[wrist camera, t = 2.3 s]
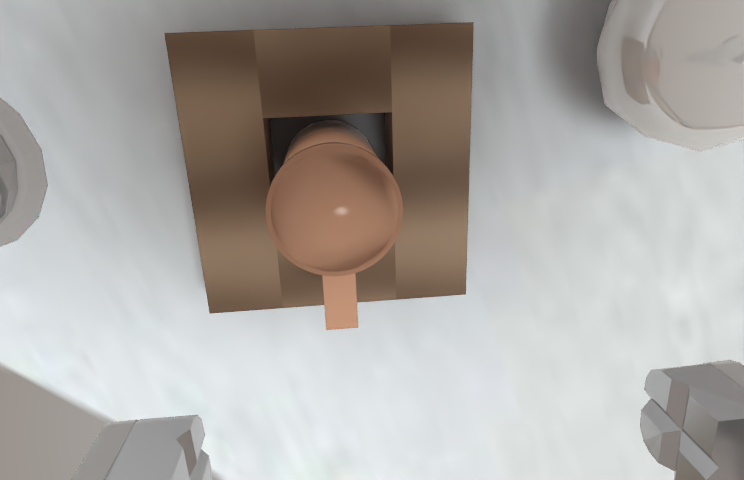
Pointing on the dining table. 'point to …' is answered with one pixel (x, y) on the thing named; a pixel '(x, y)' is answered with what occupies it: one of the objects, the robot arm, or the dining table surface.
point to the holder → (317, 98)
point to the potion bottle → (676, 69)
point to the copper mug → (334, 211)
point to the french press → (18, 176)
